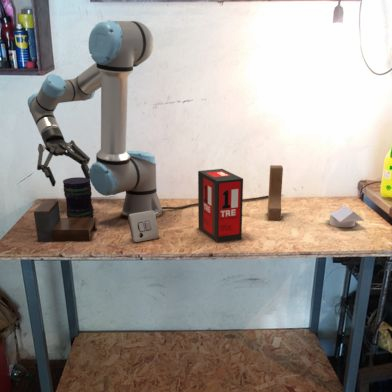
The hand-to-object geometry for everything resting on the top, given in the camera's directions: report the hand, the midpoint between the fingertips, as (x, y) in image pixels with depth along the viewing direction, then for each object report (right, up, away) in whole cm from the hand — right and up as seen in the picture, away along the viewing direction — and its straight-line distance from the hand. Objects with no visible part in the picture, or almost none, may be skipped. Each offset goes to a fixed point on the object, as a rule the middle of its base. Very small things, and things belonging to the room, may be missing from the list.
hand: (71, 181), depth 209 cm
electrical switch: (+27, -24, -15) cm, 40 cm away
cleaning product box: (+54, -22, -11) cm, 59 cm away
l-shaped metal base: (+1, -22, -11) cm, 24 cm away
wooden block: (+75, -12, +6) cm, 76 cm away
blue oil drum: (+3, -14, +3) cm, 15 cm away
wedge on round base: (+99, -17, -4) cm, 100 cm away
